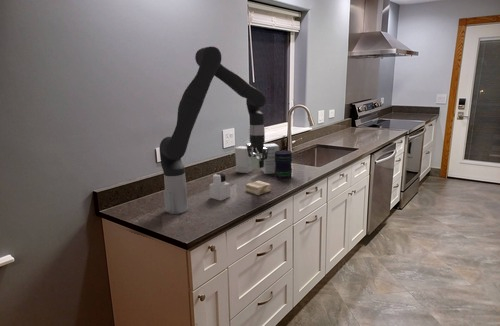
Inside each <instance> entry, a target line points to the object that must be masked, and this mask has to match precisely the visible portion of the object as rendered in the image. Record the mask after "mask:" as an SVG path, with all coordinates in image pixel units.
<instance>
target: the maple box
mask: <svg viewBox="0 0 500 326" xmlns="http://www.w3.org/2000/svg"><path fill="white" fill-rule="evenodd" d="M245 191H246V192H248V193H250V194H254V195H256V196H260V195H262V194H265V193H268V192H271V191H272V185H271V183H268V182H264V181H261V180H256V181H252V182H249V183H246V184H245Z"/></svg>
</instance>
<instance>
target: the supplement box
mask: <svg viewBox="0 0 500 326" xmlns="http://www.w3.org/2000/svg"><path fill="white" fill-rule="evenodd" d="M264 148H268V156H267V159H266V160H265V167H264V168H260V169H261V172H262V173H264V175H269V174H271V175H272V174H275V152H276V151H280V145H278V144H276V143H264ZM261 154H262V153H261ZM261 157H262V156H261Z"/></svg>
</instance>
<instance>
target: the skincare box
mask: <svg viewBox="0 0 500 326" xmlns="http://www.w3.org/2000/svg"><path fill="white" fill-rule="evenodd" d="M234 154H235V155H234V156H235V169H236V170H235V171H236V173H242V174H249V173H250V172H253V168H251V157H249V156H248V150H247V145H246V146H245V145H244V146H242V145H239V146H236V147H234ZM250 154H251V152H250Z"/></svg>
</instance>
